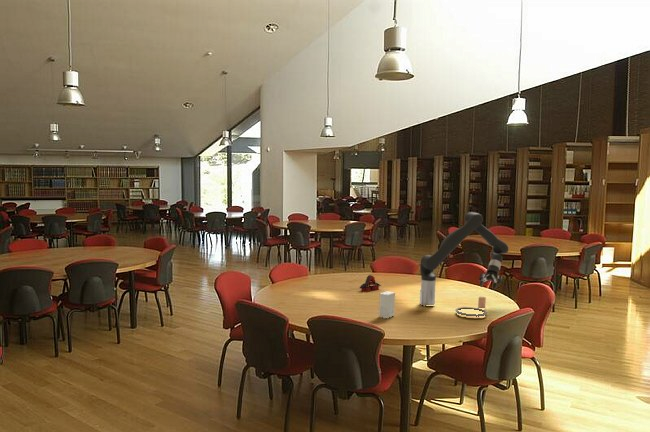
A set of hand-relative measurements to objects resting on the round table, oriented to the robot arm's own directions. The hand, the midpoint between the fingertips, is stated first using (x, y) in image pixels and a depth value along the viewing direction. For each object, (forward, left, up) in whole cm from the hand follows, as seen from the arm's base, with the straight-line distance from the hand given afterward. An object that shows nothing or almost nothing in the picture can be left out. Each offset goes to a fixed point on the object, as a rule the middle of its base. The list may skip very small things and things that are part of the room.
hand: (487, 287), depth 335 cm
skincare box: (-69, -29, -14) cm, 76 cm away
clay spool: (-6, -8, -13) cm, 17 cm away
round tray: (-16, -20, -13) cm, 29 cm away
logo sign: (-74, +41, -14) cm, 85 cm away
